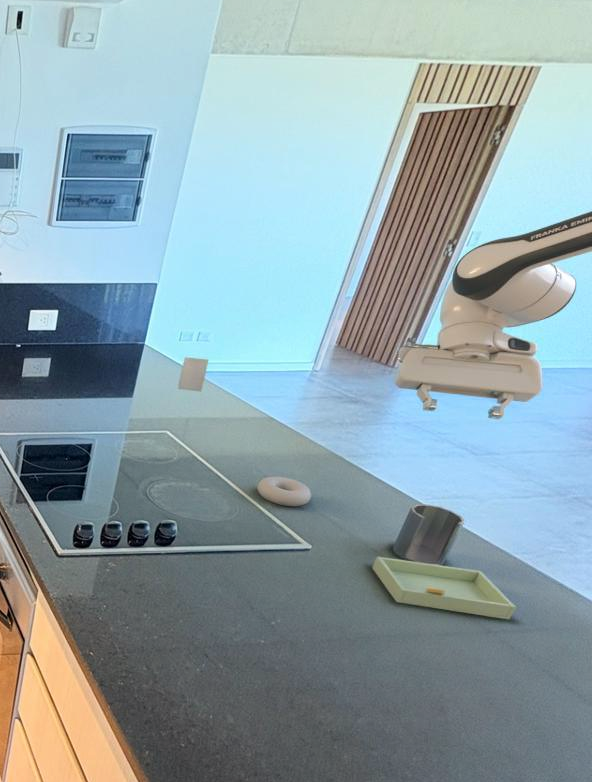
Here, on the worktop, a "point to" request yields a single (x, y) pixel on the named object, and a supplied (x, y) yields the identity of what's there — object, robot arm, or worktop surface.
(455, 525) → the steel cup
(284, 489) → the donut
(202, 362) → the pinkish tan block
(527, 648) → the worktop surface
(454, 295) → the robot arm
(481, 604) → the tray
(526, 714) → the worktop surface
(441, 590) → the key
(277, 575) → the worktop surface
